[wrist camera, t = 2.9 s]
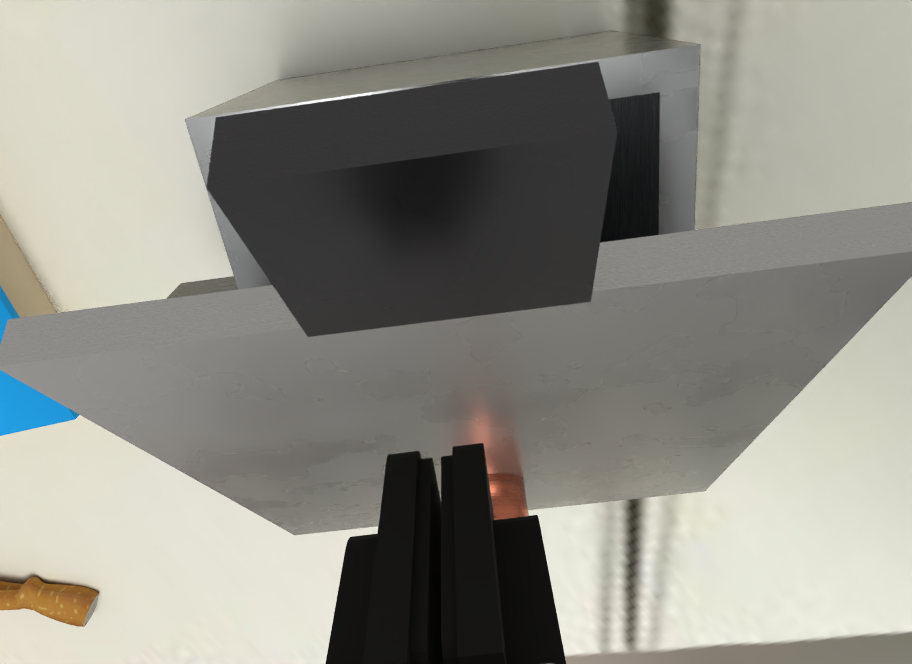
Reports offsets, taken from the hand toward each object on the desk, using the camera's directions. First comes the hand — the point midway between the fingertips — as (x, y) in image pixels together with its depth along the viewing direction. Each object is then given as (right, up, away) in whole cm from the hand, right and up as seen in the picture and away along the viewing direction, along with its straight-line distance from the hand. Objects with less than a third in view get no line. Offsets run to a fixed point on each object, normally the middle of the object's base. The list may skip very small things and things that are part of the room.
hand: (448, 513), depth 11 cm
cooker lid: (+1, +1, +6) cm, 6 cm away
